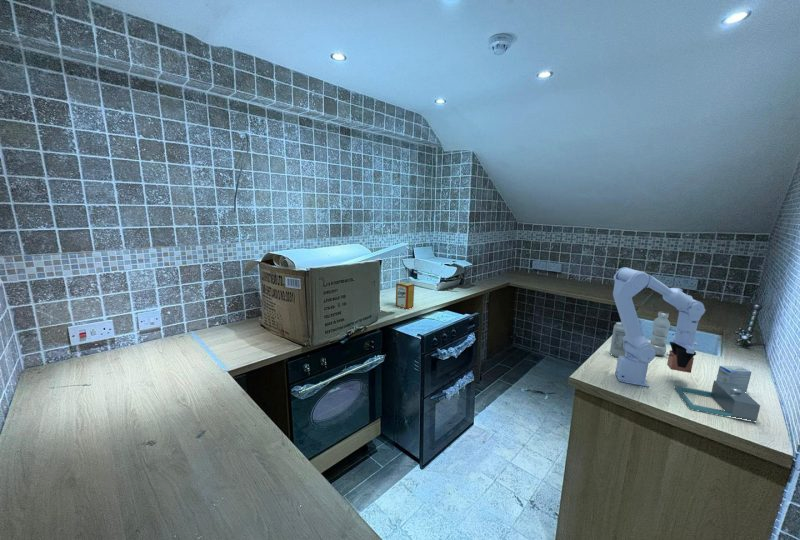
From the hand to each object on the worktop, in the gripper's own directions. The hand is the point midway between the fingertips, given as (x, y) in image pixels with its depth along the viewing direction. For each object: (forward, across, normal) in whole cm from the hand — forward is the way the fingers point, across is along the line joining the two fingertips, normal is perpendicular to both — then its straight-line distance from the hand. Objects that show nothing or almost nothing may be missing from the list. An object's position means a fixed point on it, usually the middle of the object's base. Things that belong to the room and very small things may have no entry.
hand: (679, 364), depth 126 cm
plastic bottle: (+8, +28, -1) cm, 29 cm away
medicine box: (+8, +2, -17) cm, 19 cm away
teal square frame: (+7, -14, -6) cm, 17 cm away
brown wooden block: (+2, 0, 0) cm, 2 cm away
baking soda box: (+8, +41, +130) cm, 137 cm away
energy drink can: (+8, +18, +16) cm, 25 cm away
